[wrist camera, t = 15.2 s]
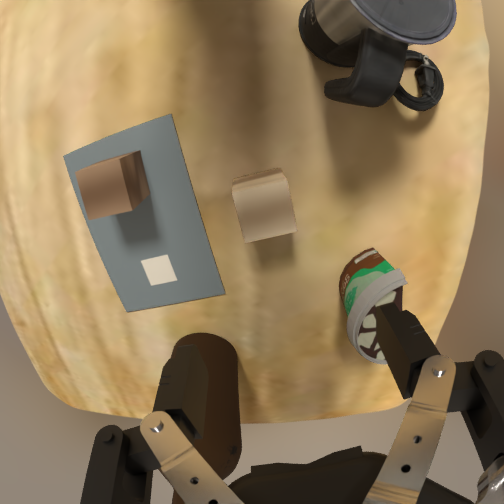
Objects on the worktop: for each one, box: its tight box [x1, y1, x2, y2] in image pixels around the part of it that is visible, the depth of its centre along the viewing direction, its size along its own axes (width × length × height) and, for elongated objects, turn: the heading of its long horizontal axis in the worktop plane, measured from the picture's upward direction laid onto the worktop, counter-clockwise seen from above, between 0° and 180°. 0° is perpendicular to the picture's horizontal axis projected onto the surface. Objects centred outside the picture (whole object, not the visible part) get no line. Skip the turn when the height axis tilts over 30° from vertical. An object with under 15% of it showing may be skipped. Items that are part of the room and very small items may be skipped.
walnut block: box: [75, 150, 150, 220], centre depth 29 cm, size 5×5×6 cm
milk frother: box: [299, 0, 457, 111], centre depth 20 cm, size 14×16×15 cm
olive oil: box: [158, 333, 242, 504], centre depth 32 cm, size 11×11×25 cm
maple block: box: [232, 168, 297, 243], centre depth 31 cm, size 5×5×6 cm
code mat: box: [63, 114, 225, 312], centre depth 35 cm, size 22×14×1 cm, turn 13°
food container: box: [339, 248, 408, 364], centre depth 34 cm, size 12×6×10 cm, turn 14°
